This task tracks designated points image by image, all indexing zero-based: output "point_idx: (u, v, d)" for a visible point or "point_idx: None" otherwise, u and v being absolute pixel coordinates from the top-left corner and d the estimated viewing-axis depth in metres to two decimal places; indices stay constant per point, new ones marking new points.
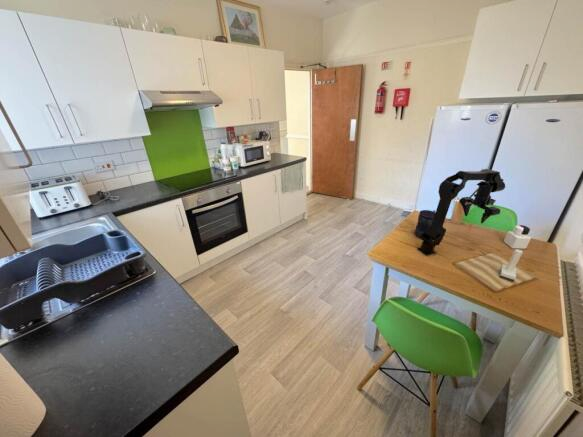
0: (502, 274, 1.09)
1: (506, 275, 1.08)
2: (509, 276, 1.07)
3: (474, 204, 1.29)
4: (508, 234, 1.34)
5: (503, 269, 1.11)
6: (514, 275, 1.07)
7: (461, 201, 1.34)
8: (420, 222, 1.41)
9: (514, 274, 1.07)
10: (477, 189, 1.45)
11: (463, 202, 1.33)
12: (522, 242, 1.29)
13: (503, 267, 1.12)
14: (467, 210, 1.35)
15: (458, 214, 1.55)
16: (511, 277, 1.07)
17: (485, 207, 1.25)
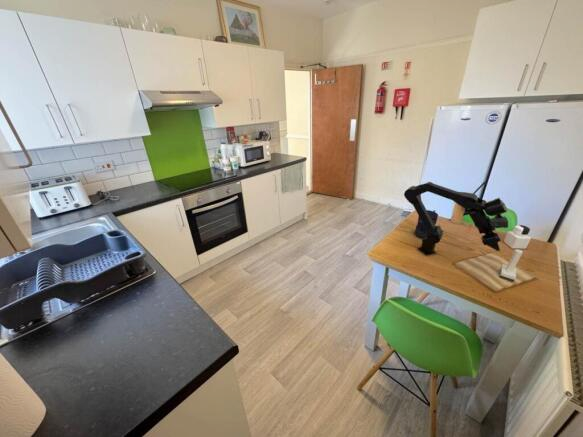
0: (502, 274, 1.09)
1: (506, 275, 1.08)
2: (509, 276, 1.07)
3: None
4: (508, 234, 1.34)
5: (503, 269, 1.11)
6: (514, 275, 1.07)
7: None
8: (420, 222, 1.41)
9: (514, 274, 1.07)
10: (477, 189, 1.45)
11: None
12: (522, 242, 1.29)
13: (503, 267, 1.12)
14: None
15: (458, 214, 1.55)
16: (511, 277, 1.07)
17: (487, 234, 1.08)
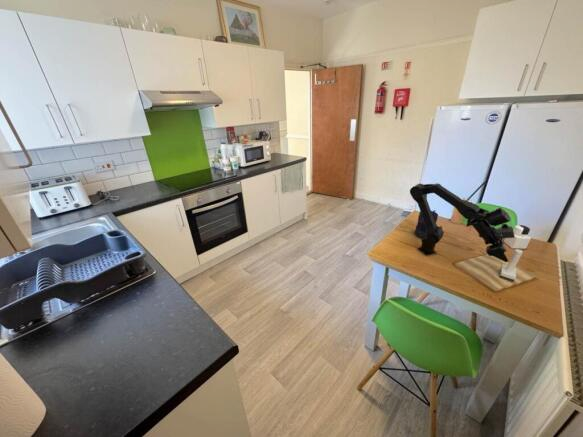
0: (502, 274, 1.09)
1: (506, 275, 1.08)
2: (509, 276, 1.07)
3: None
4: None
5: (503, 269, 1.11)
6: (514, 275, 1.07)
7: None
8: (420, 222, 1.41)
9: (514, 274, 1.07)
10: (477, 189, 1.45)
11: None
12: (522, 242, 1.29)
13: (503, 267, 1.12)
14: None
15: (458, 214, 1.55)
16: (511, 277, 1.07)
17: None
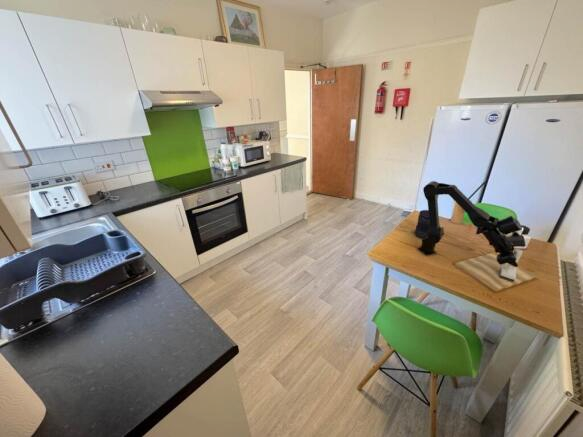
0: (502, 274, 1.09)
1: (506, 275, 1.08)
2: (509, 276, 1.07)
3: (500, 252, 1.08)
4: (508, 234, 1.34)
5: (503, 269, 1.11)
6: (514, 275, 1.07)
7: None
8: (420, 222, 1.41)
9: (514, 274, 1.07)
10: (477, 189, 1.45)
11: None
12: None
13: (503, 267, 1.12)
14: None
15: (458, 214, 1.55)
16: (511, 277, 1.07)
17: None
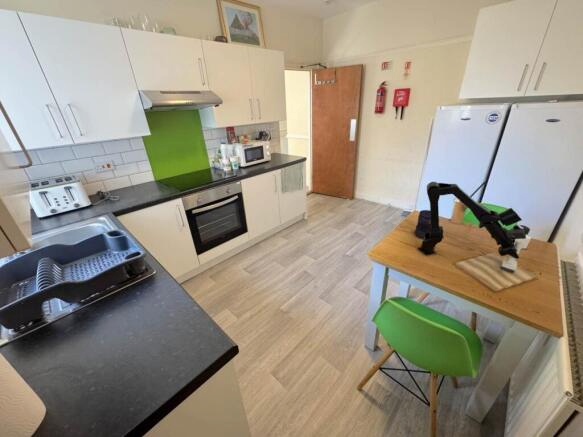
0: (503, 265, 1.13)
1: (507, 266, 1.12)
2: (510, 267, 1.12)
3: None
4: None
5: (504, 261, 1.15)
6: (514, 266, 1.11)
7: None
8: (420, 222, 1.41)
9: (515, 265, 1.12)
10: (477, 189, 1.45)
11: None
12: (522, 242, 1.29)
13: (504, 259, 1.16)
14: None
15: (458, 214, 1.55)
16: (511, 268, 1.11)
17: (504, 245, 1.10)
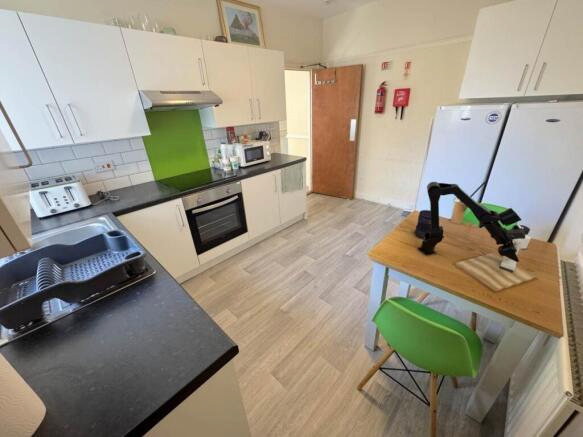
0: (502, 265, 1.14)
1: (506, 266, 1.14)
2: (508, 267, 1.13)
3: None
4: None
5: (503, 260, 1.16)
6: (513, 266, 1.12)
7: None
8: (420, 222, 1.41)
9: (513, 265, 1.13)
10: (477, 189, 1.45)
11: None
12: (522, 242, 1.29)
13: (504, 259, 1.17)
14: None
15: (458, 214, 1.55)
16: (510, 268, 1.12)
17: None
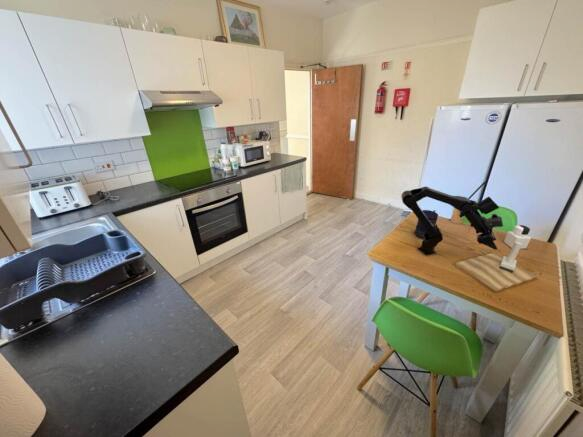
0: (502, 265, 1.14)
1: (506, 266, 1.14)
2: (508, 267, 1.13)
3: None
4: (508, 234, 1.34)
5: (503, 260, 1.16)
6: (513, 266, 1.12)
7: None
8: (420, 222, 1.41)
9: (513, 265, 1.13)
10: (477, 189, 1.45)
11: None
12: (522, 242, 1.29)
13: (504, 259, 1.17)
14: None
15: (458, 214, 1.55)
16: (510, 268, 1.12)
17: None
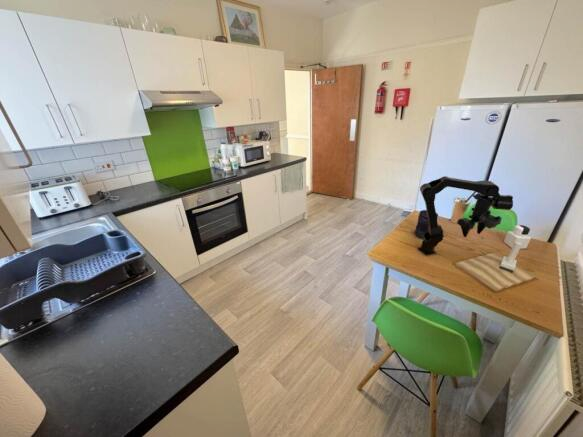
0: (502, 265, 1.14)
1: (506, 266, 1.14)
2: (508, 267, 1.13)
3: None
4: (508, 234, 1.34)
5: (503, 260, 1.16)
6: (513, 266, 1.12)
7: None
8: (420, 222, 1.41)
9: (513, 265, 1.13)
10: None
11: None
12: (522, 242, 1.29)
13: (504, 259, 1.17)
14: (480, 227, 1.21)
15: (458, 214, 1.55)
16: (510, 268, 1.12)
17: (470, 220, 1.16)
